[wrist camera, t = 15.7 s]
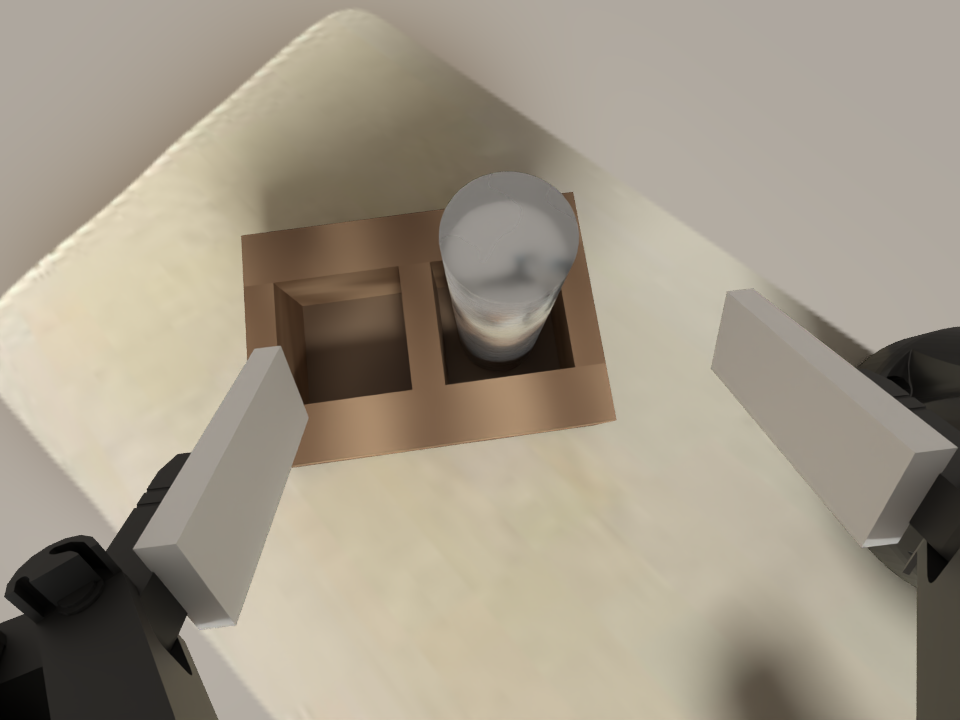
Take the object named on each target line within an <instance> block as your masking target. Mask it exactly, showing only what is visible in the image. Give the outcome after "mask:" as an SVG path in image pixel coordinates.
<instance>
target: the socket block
mask: <svg viewBox="0 0 960 720" xmlns="http://www.w3.org/2000/svg"><path fill="white" fill-rule="evenodd" d="M562 195H563V196H564V197H565V199H566V200H567V201H568V203H569V204H570V206H571V208H572V210H573V212H574V214H575V217H576V220H577V224H578V230H579V245H578V251H577V254H576V258H575V260H574V263H573V265H572V267H571V269H570V271H569V273H568V275H567V277H566V279H565V281H564V284H563V286H562V288H561V290H560V292H559V294H558V296H557V298H556V300H555V302H554V304H553V307H552V309H551V311H550V313H549V315H548V317H547V319H546V321H545V323H544V325H543V327H542V330H541V332H540V334H539V336H538V338H537V340H536V342H535V344H534V346H533V348H532V350H531V353H530V354H529V356H528V357H527V358H526V359H525V360H524V361H523V362H522V363H521V364H519V365H518V366H516V367H514V368H512V369H509V370H505V371H490V370H486V369H483V368H481V367H479V366H477V365H476V364H474V363H473V362H472V361H471V360H470V359H469V358H468V357H467V356H466V354H465V353H464V351H463V349H462V346H461V342H460V338H459V333H458V329H457V324H456V319H455V315H454V310H453V306H452V301H451V296H450V292H449V287H448V283H447V278H446V274H445V269H444V264H443V260H442V255H441V250H440V245H439V227H440V222H441V218H442V216H443V213H444V210H445V209H440V210H433V211H425V212H417V213H410V214H402V215H395V216H387V217H379V218H372V219H364V220H357V221H349V222H341V223H334V224H326V225H319V226H311V227H304V228H296V229H288V230H281V231H273V232H266V233H258V234H250V235H243V236H241V240H242V261H243V281H244V302H245V323H246V343H247V360H248V359H249V357H250V355H251V354H252V352H253V350H254V349H257V348H265V347H273V346H281V348H282V350H283V353H284V355H285V358H286V361H287V363H288V366H289V368H290V371H291V373H292V376H293V378H294V381H295V384H296V386H297V389H298V391H299V394H300V396H301V399H302V402H303V404H304V407H305V409H306V412H307V414H308V417H309V418H308V421H307V424H306V427H305V430H304V433H303V435H302V438H301V441H300V444H299V447H298V450H297V453H296V455H295V458H294V461H293V464H292V467H291V468H293V467H301V466H308V465H315V464H322V463H329V462H336V461H343V460H350V459H358V458H365V457H372V456H379V455H386V454H393V453H400V452H407V451H414V450H422V449H429V448H436V447H443V446H450V445H457V444H464V443H471V442H479V441H486V440H493V439H500V438H507V437H514V436H521V435H528V434H535V433H543V432H550V431H557V430H564V429H571V428H578V427H585V426H592V425H597V424H601V423H606V422H610V421H615V420H616V415H615V410H614V405H613V399H612V394H611V389H610V384H609V378H608V373H607V368H606V363H605V357H604V352H603V347H602V342H601V336H600V331H599V326H598V321H597V315H596V310H595V305H594V300H593V294H592V289H591V284H590V279H589V273H588V268H587V263H586V258H585V252H584V247H583V242H582V237H581V231H580V226H579V221H578V216H577V210H576V205H575V200H574V195H573V192H569V193H562Z"/></svg>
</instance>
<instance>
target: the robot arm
mask: <svg viewBox="0 0 960 720" xmlns="http://www.w3.org/2000/svg"><path fill="white" fill-rule="evenodd" d="M711 369H712V370H713V372H714V373H715V374H716V375H717V376H718V377H719V379H720V380H721V381H722V382H723V383H724V385H725V386H726V387H727V388H728V389H729V391H730V392H731V393H732V394H733V395H734V397H735V398H736V399H737V400H738V401H739V403H740V404H741V405H742V406H743V407H744V408H745V410H746V411H747V412H748V413H749V414H750V416H751V417H752V418H753V419H754V420H755V422H756V423H757V424H758V425H759V426H760V428H761V429H762V430H763V431H764V432H765V433H766V435H767V436H768V437H769V438H770V439H771V441H772V442H773V443H774V444H775V445H776V447H777V448H778V449H779V450H780V451H781V453H782V454H783V455H784V456H785V457H786V459H787V460H788V461H789V462H790V463H791V464H792V466H793V467H794V468H795V469H796V470H797V472H798V473H799V474H800V475H801V476H802V478H803V479H804V480H805V481H806V482H807V484H808V485H809V486H810V487H811V488H812V490H813V491H814V492H815V493H816V494H817V495H818V497H819V498H820V499H821V500H822V501H823V503H824V504H825V505H826V506H827V507H828V509H829V510H830V511H831V512H832V513H833V515H834V516H835V517H836V518H837V519H838V521H839V522H840V523H841V524H842V525H843V526H844V528H845V529H846V530H847V531H848V532H849V534H850V535H851V536H852V537H853V538H854V540H855V541H856V542H857V543H858V544H859V546H860V547H861V548H864V547H868V548H869V549H870V550H871V551H872V552H873V554H874V555H875V556H876V557H877V558H878V559H879V560H880V561H881V562H882V563H884V564H885V565H886V566H887V567H888V568H889V569H890V570H892V571H893V572H894V573H895V574H897V575H898V576H899V577H901V578H902V579H904V580H905V581H907V582H908V583H910V584H911V585H913V586H915V587H916V588H917V720H960V327H953V328H947V329H942V330H938V331H934V332H930V333H926V334H922V335H918V336H914V337H911V338H907V339H903V340H901V341H898V342H895V343H893V344H891V345H888V346H886V347H885V348H883V349H881V350H879V351H878V352H876V353H875V354H873V355H872V356H871V357H869V358H868V359H867V360H866V361H865V362H864V363H862V364H861V365H860V366H859V367H858V368H857V369H856V368H855V367H853V366H852V365H851V364H850V363H848V362H847V361H846V360H844V359H843V358H842V357H841V356H839V355H838V354H837V353H835V352H834V351H833V350H832V349H830V348H829V347H828V346H826V345H825V344H824V343H823V342H821V341H820V340H819V339H817V338H816V337H815V336H814V335H812V334H811V333H810V332H808V331H807V330H806V329H805V328H803V327H802V326H801V325H799V324H798V323H797V322H796V321H794V320H793V319H792V318H790V317H789V316H788V315H787V314H785V313H784V312H783V311H781V310H780V309H779V308H778V307H776V306H775V305H774V304H772V303H771V302H770V301H769V300H767V299H766V298H765V297H763V296H762V295H761V294H760V293H758V292H757V291H756V290H754V289H753V288H752V289H743V290H735V291H727V294H726V299H725V303H724V308H723V313H722V318H721V323H720V327H719V332H718V337H717V342H716V347H715V351H714V356H713V361H712V366H711ZM308 418H309V417H308V414H307V412H306V409H305V407H304V404H303V402H302V399H301V396H300V394H299V391H298V389H297V386H296V384H295V381H294V378H293V376H292V373H291V371H290V368H289V366H288V363H287V361H286V358H285V355H284V353H283V350H282V348H281V346H273V347H265V348H257V349H254V350H253V352H252V354H251V355H250V357H249V359H248V360H247V362H246V364H245V365H244V367H243V369H242V370H241V372H240V373H239V375H238V377H237V378H236V380H235V382H234V383H233V385H232V387H231V388H230V390H229V392H228V393H227V395H226V396H225V398H224V400H223V401H222V403H221V405H220V406H219V408H218V410H217V411H216V413H215V415H214V416H213V418H212V420H211V421H210V423H209V424H208V426H207V428H206V429H205V431H204V433H203V434H202V436H201V438H200V439H199V441H198V443H197V444H196V446H195V447H194V449H193V451H192V452H191V453H183V454H177V455H176V456H175V457H174V458H173V459H172V460H171V461H169V462H168V463H167V464H166V465H165V466H164V467H163V468H162V469H160V470H159V471H158V473H157V474H156V476H155V477H154V479H153V480H152V482H151V484H150V485H149V487H148V488H147V493H144V494H143V496H142V497H141V499H140V500H139V502H138V503H137V508H134V509H133V511H132V512H131V514H130V515H129V517H128V518H127V520H126V522H125V523H124V525H123V526H122V528H121V529H120V531H119V532H118V534H117V535H116V537H115V538H114V540H113V541H112V543H111V544H110V546H109V547H108V549H107V550H106V551H105V550H104V549H103V548H102V547H101V546H100V545H99V543H98V542H97V541H96V540H95V539H94V538H93V537H90V536H84V535H79V536H74V537H70V538H65V539H63V540H61V541H58V542H56V543H54V544H52V545H49V546H48V547H46V548H45V549H43V550H42V551H40V552H38V553H37V554H36V555H34V556H32V557H31V558H30V559H29V560H28V561H27V562H26V563H25V564H23V565H22V566H21V567H20V568H19V569H18V570H17V571H16V573H15V574H14V576H13V577H12V578H11V580H10V581H9V583H8V584H7V588H6V592H5V596H4V597H5V598H6V599H7V600H9V601H10V602H11V603H12V604H13V605H14V606H16V607H17V608H18V609H19V610H20V611H22V612H23V613H24V614H23V615H21V616H18V617H16V618H13V619H10V620H8V621H5V622H3V623H0V720H218V718H217V715H216V713H215V711H214V709H213V706H212V704H211V701H210V699H209V697H208V694H207V692H206V690H205V687H204V685H203V683H202V680H201V678H200V676H199V674H198V671H197V669H196V666H195V664H194V662H193V659H192V657H191V655H190V652H189V650H188V648H187V645H186V643H185V641H184V640H183V639H182V638H181V637H180V636H179V632H180V629H181V627H182V625H183V623H184V621H185V618H186V616H188V617H189V618H190V619H191V621H192V622H193V623H194V624H195V625H196V627H197V628H198V629H199V630H203V629H211V628H219V627H227V626H235V625H236V624H237V621H238V618H239V615H240V612H241V610H242V607H243V604H244V601H245V598H246V595H247V592H248V590H249V587H250V584H251V581H252V578H253V575H254V572H255V570H256V567H257V564H258V561H259V558H260V555H261V552H262V550H263V547H264V544H265V541H266V538H267V535H268V532H269V530H270V527H271V524H272V521H273V518H274V515H275V512H276V510H277V507H278V504H279V501H280V498H281V495H282V493H283V490H284V487H285V484H286V481H287V478H288V475H289V473H290V470H291V467H292V464H293V461H294V458H295V455H296V453H297V450H298V447H299V444H300V441H301V438H302V435H303V433H304V430H305V427H306V424H307V421H308Z"/></svg>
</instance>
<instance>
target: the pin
mask: <svg viewBox="0 0 960 720" xmlns="http://www.w3.org/2000/svg"><path fill="white" fill-rule="evenodd" d="M439 245H440V250H441V255H442V260H443V264H444V269H445V274H446V278H447V283H448V287H449V292H450V296H451V301H452V306H453V310H454V315H455V319H456V324H457V329H458V333H459V338H460V342H461V346H462V349H463V351H464V353H465V354H466V356H467V357H468V358H469V359H470V360H471V361H472V362H473V363H474V364H476V365H477V366H479V367H481V368H483V369H486V370H490V371H505V370H509V369H512V368H514V367H516V366H518V365H519V364H521V363H522V362H523V361H524V360H525V359H526V358H527V357H528V356H529V354H530V353H531V350H532V348H533V346H534V344H535V342H536V340H537V338H538V336H539V334H540V332H541V330H542V327H543V325H544V323H545V321H546V319H547V317H548V315H549V313H550V311H551V309H552V307H553V304H554V302H555V300H556V298H557V296H558V294H559V292H560V290H561V288H562V286H563V284H564V281H565V279H566V277H567V275H568V273H569V271H570V269H571V267H572V265H573V263H574V260H575V258H576V254H577V251H578V245H579V230H578V224H577V220H576V217H575V214H574V212H573V210H572V208H571V206H570V204H569V203H568V201H567V200H566V199H565V197H564V196H563V195H562V194H561V193H560V192H559V191H558V190H557V189H556V188H555V187H553V186H552V185H551V184H549V183H547V182H546V181H544V180H542V179H540V178H538V177H536V176H533V175H530V174H526V173H521V172H512V171H505V172H496V173H490V174H487V175H484V176H481V177H479V178H477V179H475V180H473V181H471V182H470V183H468V184H466V185H465V186H464V187H463V188H461V189H460V190H459V191H458V192H457V193H456V194H455V195H454V196H453V198H452V199H451V200H450V202H449V203H448V205H447V207H446V209H445V210H444V213H443V216H442V218H441V222H440V227H439Z"/></svg>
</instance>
